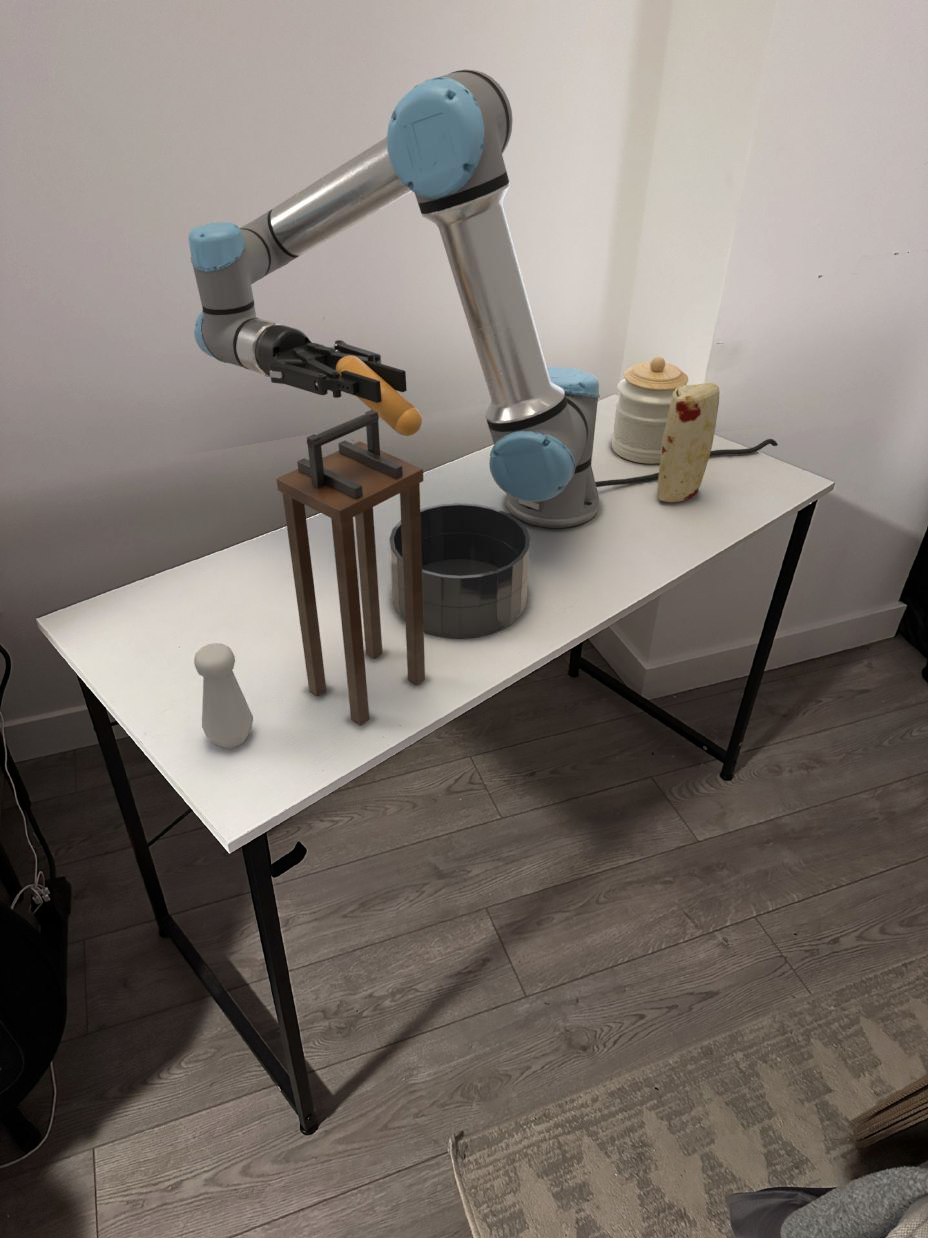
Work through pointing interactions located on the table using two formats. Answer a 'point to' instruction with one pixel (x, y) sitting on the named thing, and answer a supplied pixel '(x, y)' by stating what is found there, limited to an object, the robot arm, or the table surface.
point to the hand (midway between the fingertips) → (391, 386)
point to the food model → (687, 441)
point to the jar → (644, 409)
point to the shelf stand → (354, 549)
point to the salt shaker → (222, 697)
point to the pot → (466, 569)
